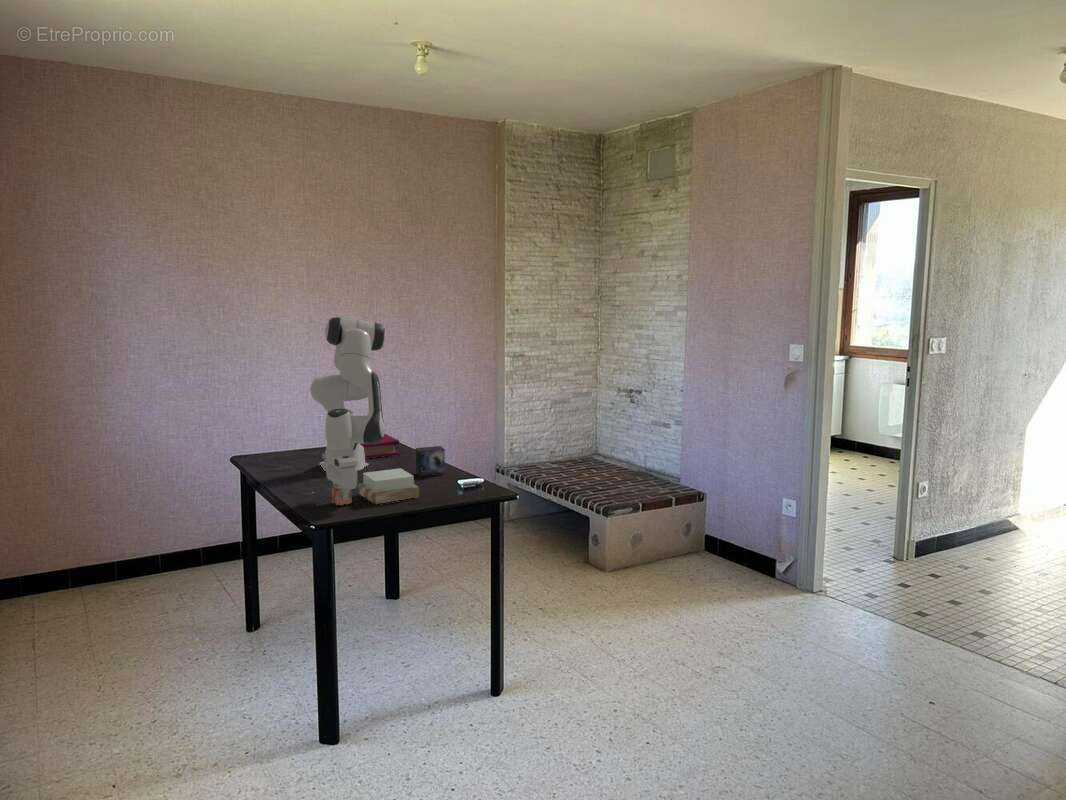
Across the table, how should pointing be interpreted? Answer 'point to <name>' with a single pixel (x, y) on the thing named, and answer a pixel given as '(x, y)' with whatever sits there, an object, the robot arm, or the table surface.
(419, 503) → the table surface
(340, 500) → the terracotta cube
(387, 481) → the sage block
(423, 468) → the small box
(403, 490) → the birch slab
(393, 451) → the book
